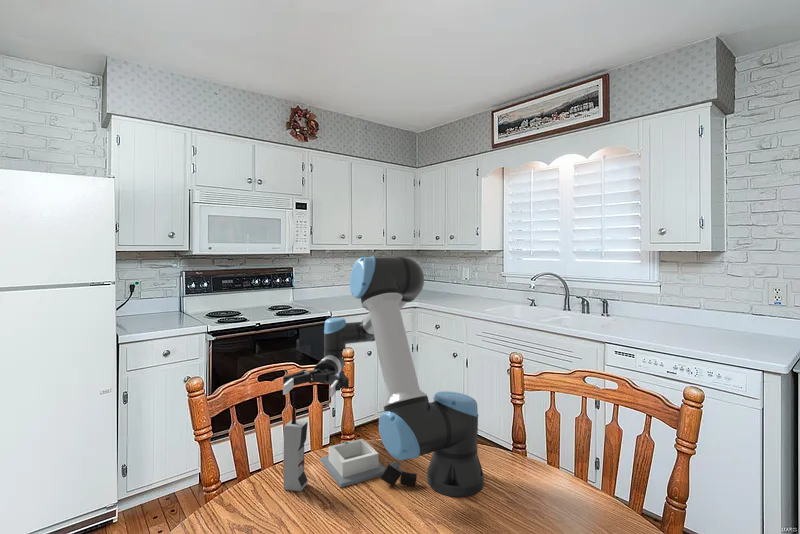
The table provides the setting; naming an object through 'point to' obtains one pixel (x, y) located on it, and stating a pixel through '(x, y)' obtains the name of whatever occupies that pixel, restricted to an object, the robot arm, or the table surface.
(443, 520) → the table surface
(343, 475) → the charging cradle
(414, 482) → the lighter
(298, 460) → the vintage mobile phone
